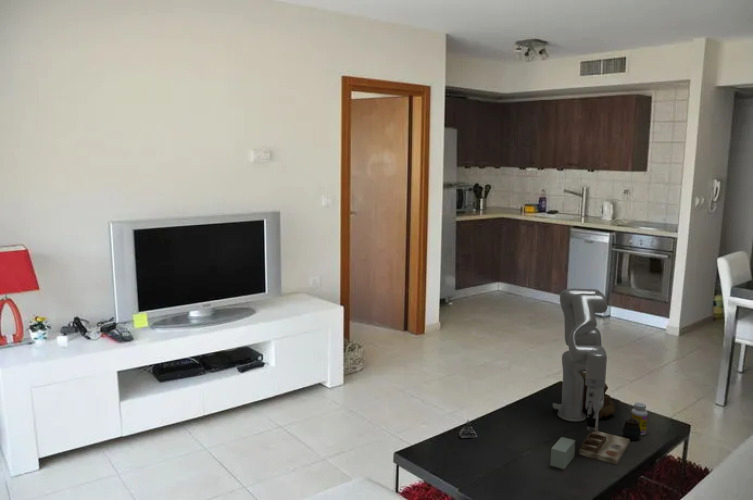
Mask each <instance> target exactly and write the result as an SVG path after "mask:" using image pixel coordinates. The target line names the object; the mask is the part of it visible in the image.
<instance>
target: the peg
mask: <svg viewBox="0 0 753 500" xmlns="http://www.w3.org/2000/svg"><path fill="white" fill-rule="evenodd" d="M592 410H594V409H592ZM592 413H594V412H592ZM598 417H599V412H596V414H595V418H596V425H595V428H592V427H588V426H587V425H586V426H587V427H586V430H587V431H588V432H590V433H593V432H597V431H599V428H598V427H599V423H598Z"/></svg>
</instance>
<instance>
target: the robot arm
mask: <svg viewBox="0 0 753 500" xmlns="http://www.w3.org/2000/svg"><path fill="white" fill-rule="evenodd" d="M559 303H560V307H561V311H562V313H563V317H564V321H563V322H564V341H565V342H564V343H565V345H566V346H568V350H565V351H564V352H563V353H562V355H561V363H562V364H561V365H562V386H561V387H562V388H561V403H559V404H558V403H555V402H553V403H552V408H553V409H554V410H556V411H557V410H558V411H557V416H558V417H559V418H560V419H562V420H564V421H568V422H576V423H577V422H578V423H579V422H583V421H585V420H586V426H588V427H592V428H595V425H596V418H595V414H596V412H599V411H600V410H601V408H602V407H603V405H604V387H605V383H606V380H607V379H606V376H607V362H608V360H607V359H608V358H607V357H608V355H607V351H606V349H605V348H604V347H603V346H602V334H601V331H600V330H599V329H598V328H597V325H598V322H597V317H596V314H604V313H606V312H607V309H608V301H607V298H606V295H605V294H604V293H603V292H601V291H600V290H599V289H596V288H595V289H593V288H565V289H563V290H562V291H561V292H560V294H559ZM579 372H586V380H585V385H586V386H587V394H586V409H585V410H587V411H586V412H587V415H586V413H584V411H583V410H584V408H583V397H584V379H583V377H582V376H581V375H580V374H579ZM592 409H594V410H592ZM592 412H594V413H592ZM586 418H587V419H586ZM599 421H600V419H599V417H598V424H599V423H600V422H599Z"/></svg>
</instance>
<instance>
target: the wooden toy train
mask: <svg viewBox="0 0 753 500" xmlns="http://www.w3.org/2000/svg"><path fill="white" fill-rule="evenodd" d="M579 374H580V375H581V376H582V377H583V379H584V397H583V410H584V409H585V410H586V394H587V386H586V385H585V380H586V372H579ZM608 389H609V386H608V384H607V383H606V382H605V387H604V405H603V407H602V408H601V410H600V411H599V420H600V419H602V418H603V417H605V418H606V417H608V416H612V415H613V414H615V413H616V409H615V408H616V407H615V405H614V403H613V402H612V401H611V395H610V394H607V391H608Z"/></svg>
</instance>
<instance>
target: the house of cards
mask: <svg viewBox="0 0 753 500" xmlns="http://www.w3.org/2000/svg"><path fill="white" fill-rule="evenodd" d="M465 425H471V422H470V420H469V419H467V421H466V422H465ZM458 433H459V436H460V437H461V438H476V439H477V437H478V435H477V433H476V432H475V429H473V427H472V426H463V427H462V428H461V430H460V431H459V432H458ZM460 437H459V438H460Z"/></svg>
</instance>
